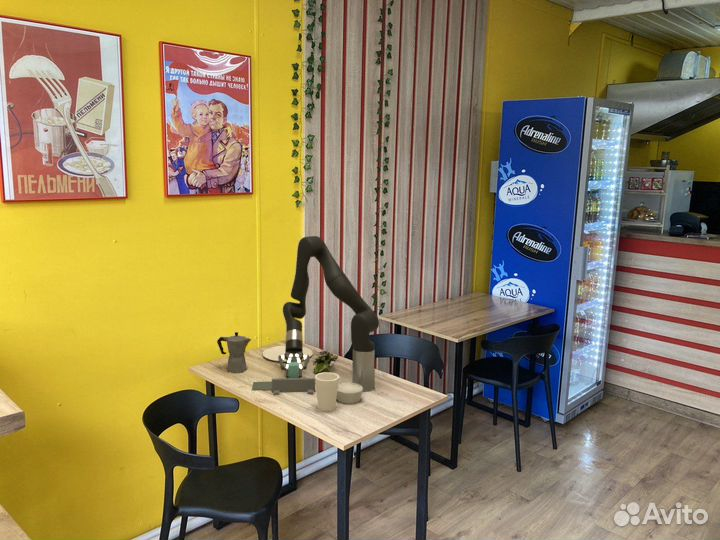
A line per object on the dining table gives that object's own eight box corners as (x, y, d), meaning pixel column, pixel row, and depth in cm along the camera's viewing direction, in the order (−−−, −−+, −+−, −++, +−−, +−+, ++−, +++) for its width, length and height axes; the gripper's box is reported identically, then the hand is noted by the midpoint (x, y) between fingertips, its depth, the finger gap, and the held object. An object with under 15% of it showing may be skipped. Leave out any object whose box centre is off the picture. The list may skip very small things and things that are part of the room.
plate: (295, 345, 298) (295, 342, 298) (322, 357, 279) (322, 354, 279) (253, 353, 282) (253, 350, 282) (279, 367, 263) (279, 364, 263)
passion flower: (323, 379, 264) (333, 356, 268) (336, 382, 255) (346, 358, 259) (305, 369, 258) (315, 346, 262) (317, 372, 250) (328, 347, 254)
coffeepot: (252, 366, 263) (252, 329, 260) (249, 373, 254) (249, 335, 251) (220, 366, 263) (219, 329, 260) (215, 373, 254) (214, 334, 250)
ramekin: (367, 398, 230) (368, 386, 229) (352, 407, 220) (352, 395, 219) (345, 392, 236) (345, 380, 235) (329, 400, 227) (329, 388, 226)
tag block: (298, 383, 243) (299, 361, 242) (298, 388, 239) (299, 365, 237) (288, 384, 243) (288, 362, 241) (288, 388, 238) (288, 365, 236)
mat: (274, 382, 244) (274, 381, 244) (273, 390, 236) (273, 389, 235) (253, 382, 243) (253, 381, 243) (251, 390, 235) (251, 389, 234)
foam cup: (309, 407, 219) (310, 376, 217) (327, 401, 226) (328, 370, 223) (325, 415, 213) (326, 383, 210) (343, 408, 219) (344, 377, 217)
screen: (315, 390, 237) (315, 377, 236) (315, 394, 232) (315, 381, 231) (272, 391, 235) (272, 378, 234) (271, 395, 230) (271, 382, 229)
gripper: (277, 338, 244) (276, 374, 234) (310, 338, 246) (310, 374, 236) (278, 346, 250) (277, 382, 240) (310, 346, 252) (310, 381, 242)
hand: (293, 377), depth 238 cm, fingers closed on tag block, 4 cm apart
